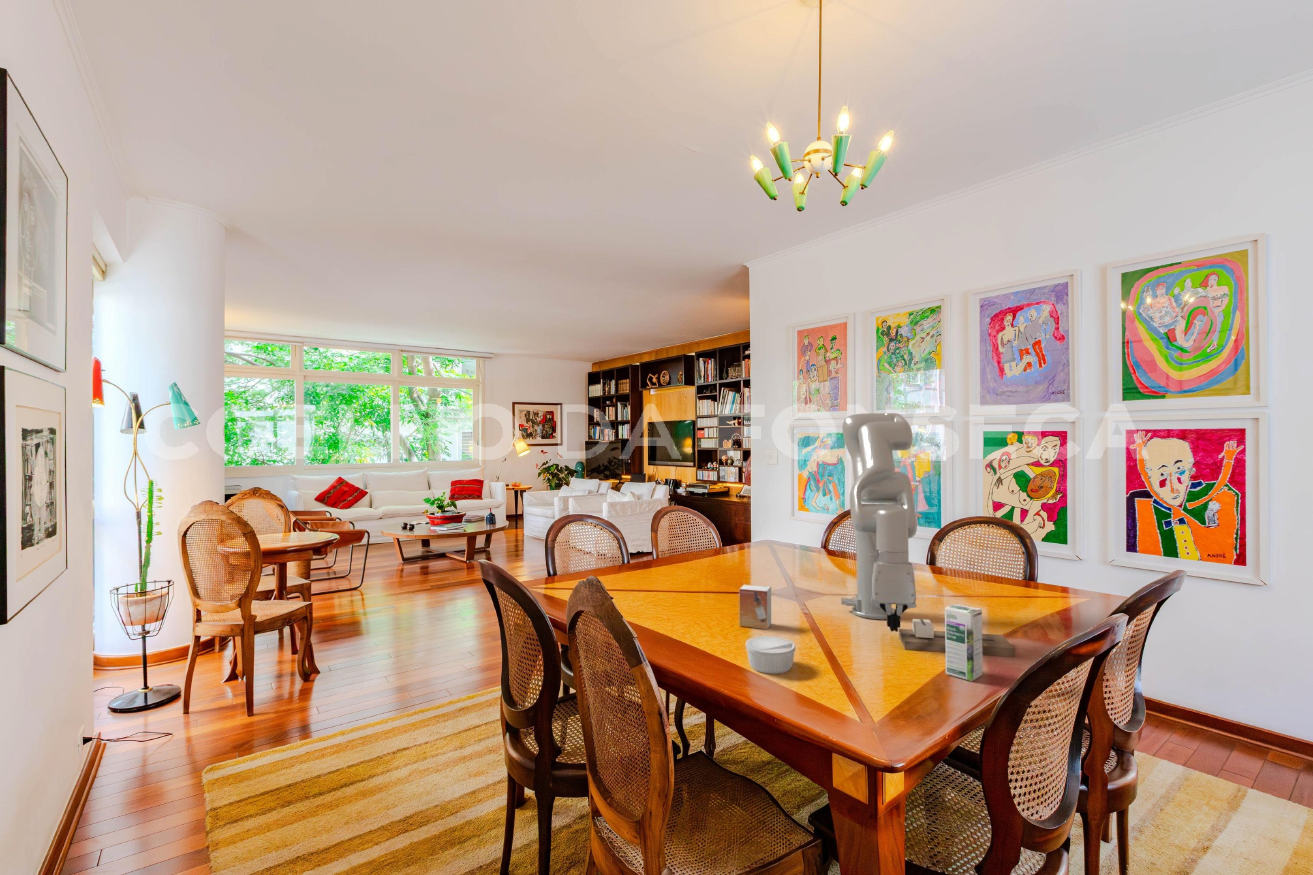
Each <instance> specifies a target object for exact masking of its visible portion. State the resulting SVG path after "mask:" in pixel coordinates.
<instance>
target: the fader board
mask: <svg viewBox="0 0 1313 875" xmlns="http://www.w3.org/2000/svg"><path fill="white" fill-rule="evenodd" d="M898 638H899V639H900V642H901V645H902V646H903V648H904V650H905V651H906V650H907V651H908V650H909V651H924V652H935V653H936V652H938V653H946V644H945V630H944V631H943V630H934V638H923V637H916V636H915V634H914V632H913V628H911V629H909V628H898ZM982 656H997V657H1013V658H1014V657H1016V648H1015V646H1013V645H1012V644H1011V643H1010V641H1008V639H1007V638H1006V637H1005V636H1004V635H1002V634H995V633H982Z"/></svg>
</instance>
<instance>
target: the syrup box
mask: <svg viewBox="0 0 1313 875" xmlns="http://www.w3.org/2000/svg"><path fill="white" fill-rule="evenodd" d="M982 611H983V610H982V608H979V607H978V608H977V607H972V606H966V605H962V604H958V603H954V604H950V605H948V606H946V607H945V608H944V631H945V644H946V652H945V675H947V676H953V677H956V678H959V679H962V680H965V681H969V682H973V681H975V680H976V679H978V678H980V677H981V676H983V671H984V670H983V655H982V634H983V612H982Z"/></svg>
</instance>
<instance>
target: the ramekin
mask: <svg viewBox="0 0 1313 875" xmlns="http://www.w3.org/2000/svg"><path fill="white" fill-rule="evenodd" d="M745 649H746V653H747V660H748V664H749V666H750V667H751V669H753V670H754V671H756V672H759V673H763V674H767V675H770V674H771V675H777V674H778V675H779V674H780V675H781V674H784V673H787V672H789V671H790V670H791V668H792V667H793V663H794V657H795V652H796V645H795V643H794V642H793V641H792V640H790V639H787V638H785V637H782V636H781V637H780V636H773V635H760V636H754V637H751V638H747V640H746V641H745Z"/></svg>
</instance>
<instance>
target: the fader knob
mask: <svg viewBox="0 0 1313 875" xmlns="http://www.w3.org/2000/svg"><path fill="white" fill-rule="evenodd" d="M934 627H935V626H934V625H933V623H932V621H931V620H930V619H924V618H923V619H922V618H919V619H918V618H912V629H913V632H914V634H915V636H916V637H923V638H934V631H935V630H934Z"/></svg>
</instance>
